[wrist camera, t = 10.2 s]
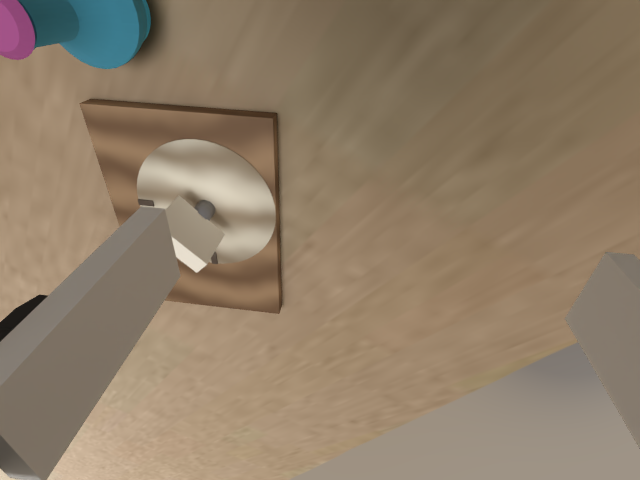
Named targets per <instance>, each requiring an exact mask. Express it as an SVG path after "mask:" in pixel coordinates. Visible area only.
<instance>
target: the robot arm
mask: <svg viewBox="0 0 640 480" xmlns="http://www.w3.org/2000/svg"><path fill="white" fill-rule="evenodd" d="M180 276H181V275H180V271H179V267H178V262H177V258H176V254H175V250H174V246H173V241H172V237H171V233H170V229H169V224H168V220H167V216H166V212H165V209H163V208H153V207H143V206H141V207H140V208H139V209H138V210H137V211H136V212H135V213H134V214H133V215H132V216H131V217H130V218H129V219H128V220H127V221H126V222H125V223H123V224H122V225H121V226H120V227H119V228H118V229H117V230H116V231H115V232H114V233H113V234H112V235H111V236H110V237H109V238H108V239H107V240H106V241H105V242H104V243H103V244H102V245H101V246H100V247H98V248H97V249H96V250H95V251H94V252H93V253H92V254H91V255H90V256H89V257H88V258H87V259H86V260H85V261H84V262H83V263H82V264H81V265H80V266H79V267H78V268H77V269H76V270H75V271H73V272H72V273H71V274H70V275H69V276H68V277H67V278H66V279H65V280H64V281H63V282H62V283H61V284H60V285H59V286H58V287H57V288H56V289H55V290H54V291H53V292H52V293H51V294H50V295H48V296H46V295H38V296H36V297H35V298H33V299H31V300H29V301H28V302H26V303H24V304H23V305H21V306H19V307H17V308H16V309H14V310H13V311H12V312H11V313H10V314H9V315H8V316H7V317H6V318H5V319H3V320H2V321H1V322H0V468H1V469H2V470H3V471H4V472H5V473H6V474H7V475H8V476H9V477H10V478H15V479H22V480H47V478H48V476H49V475H50V473H51V472H52V470H53V469H54V467H55V466H56V464H57V463H58V461H59V460H60V458H61V457H62V455H63V454H64V452H65V451H66V449H67V448H68V446H69V445H70V443H71V442H72V440H73V439H74V437H75V435H76V434H77V432H78V431H79V429H80V428H81V426H82V425H83V423H84V422H85V420H86V419H87V417H88V416H89V414H90V413H91V411H92V410H93V408H94V407H95V405H96V404H97V402H98V401H99V399H100V397H101V396H102V394H103V393H104V391H105V390H106V388H107V387H108V385H109V384H110V382H111V381H112V379H113V378H114V376H115V375H116V373H117V372H118V370H119V369H120V367H121V366H122V364H123V363H124V361H125V360H126V358H127V356H128V355H129V353H130V352H131V350H132V349H133V347H134V346H135V344H136V343H137V341H138V340H139V338H140V337H141V335H142V334H143V332H144V331H145V329H146V328H147V326H148V325H149V323H150V322H151V320H152V319H153V317H154V315H155V314H156V312H157V311H158V309H159V308H160V306H161V305H162V303H163V302H164V300H165V299H166V297H167V296H168V294H169V293H170V291H171V290H172V288H173V287H174V285H175V284H176V282H177V281H178V279H179V277H180ZM565 320H566V322H567V323H568V325H569V327H570V328H571V330H572V332H573V334H574V335H575V337H576V339H577V341H578V342H579V344H580V346H581V348H582V349H583V351H584V353H585V355H586V356H587V358H588V359H589V361H590V363H591V365H592V367H593V368H594V370H595V372H596V373H597V375H598V377H599V379H600V381H601V382H602V384H603V386H604V387H605V389H606V391H607V393H608V394H609V396H610V398H611V399H612V401H613V403H614V405H615V407H616V408H617V410H618V412H619V414H620V415H621V417H622V419H623V421H624V422H625V424H626V426H627V427H628V429H629V431H630V433H631V434H632V436H633V438H634V440H635V441H636V443H637V445H638V446H639V448H640V260H639V259H638V258H637V257H636V256H635V255H633V254H622V253H612V252H606V253H605V254H604V256H603V257H602V259H601V261H600V262H599V264H598V266H597V267H596V269H595V270H594V272H593V274H592V275H591V277H590V279H589V280H588V282H587V283H586V285H585V287H584V288H583V290H582V291H581V293H580V295H579V296H578V298H577V300H576V301H575V303H574V304H573V306H572V308H571V309H570V311H569V313H568V314H567V316H566V317H565Z"/></svg>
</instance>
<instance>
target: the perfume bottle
mask: <svg viewBox="0 0 640 480" xmlns="http://www.w3.org/2000/svg"><path fill="white" fill-rule="evenodd" d="M150 26H151V16H150V10H149V7H148V4H147V1H146V0H0V55H2V56H4V57H6V58H10V59H15V60H20V59H24V58H26V57H28V56H29V55H30V54H31V53H32V51H33V50H34V49H35V48H36V47H41V46H46V45H51V44H57V43H59V44H60V45H62V46H63V47H64V48H65V49H66V50H67V51H68V52H69V53H70V54H72V55H73V56H74V57H76V58H77V59H79V60H80V61H82V62H84V63H86V64H88V65H90V66H93V67H97V68H102V69H111V68H117V67H119V66H121V65H124V64H125V63H127V62H129V61H130V60H131V59H132V58H134V56H135V55H136V53H137V52H138V51H139V49H140V48H141V45H142V43H143V42H144V40H145V39H146V38H147V36H148V34H149V31H150Z"/></svg>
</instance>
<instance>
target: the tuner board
mask: <svg viewBox="0 0 640 480" xmlns="http://www.w3.org/2000/svg"><path fill="white" fill-rule="evenodd" d="M79 104H80V107H81V110H82V113H83V116H84V119H85V122H86V125H87V128H88V131H89V134H90V137H91V140H92V143H93V146H94V149H95V152H96V155H97V158H98V161H99V165H100V168H101V171H102V174H103V177H104V180H105V183H106V186H107V189H108V192H109V195H110V198H111V201H112V204H113V207H114V210H115V213H116V216H117V219H118V222H119V226H121V225H122V224H123V223H125V222H126V221H127V220H128V219H129V218H130V217H131V216H132V215H133V214H134V213H135V212H136V211H137V210H138V209H139V208H140V207H141V206H143V207H153V208H163V209H166V208H167V207H168V206H169V205H170V204H171V203H172V202H173V201H174V200H175V199H176V198H177V197H178V196H180V197H182V198H183V199H184V200H185V201H186V202H188V203H189V204H190V205H191V206H192V207H193V208H194V207H195V206H196V205H197V204H198V202H199V201H201V200H207V201H210V202H211V203H212V204H213V205H214V206H215V209H216V211H215V214H214V215H213V217H212V218H211V219H210V222H211V223H212V224H214V225H215V226H216V227H217V228H218V229H219V230H221V231H222V232H223V233H224V234H225V235H224V237H223V238H222V240H221V242H220V244H219V245H218V247H217V249H216V250H215V252H214V254H213V255H212V257H211V259H210V260H209V262H208V264H207V265H206V266H205V267H203V268H202V269H201V270H200V271H199V272H197V273H196V272H195V271H194V270H192V269H191V268H190V267H188V266H187V265H186V264H185V263H183V262H182V261H181V260H179V259H178V258H177V257H176V258H177V262H178V267H179V271H180V275H181V276H180V277H179V279H178V281H177V282H176V284H175V285H174V287H173V288H172V290H171V291H170V293H169V294H168V296H167V297H166V299H165V300H166V301H174V302H183V303H191V304H200V305H208V306H217V307H225V308H234V309H243V310H251V311H260V312H268V313H277V314H279V313H280V310H281V306H282V289H281V252H280V215H279V177H278V140H277V113H268V112H255V111H242V110H229V109H216V108H203V107H190V106H177V105H164V104H150V103H137V102H124V101H111V100H98V99H89V100H87V101H84V102H82V103H79Z"/></svg>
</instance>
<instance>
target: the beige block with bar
mask: <svg viewBox="0 0 640 480" xmlns="http://www.w3.org/2000/svg"><path fill="white" fill-rule="evenodd" d="M215 211H216V209H215V206H214V205H213V204H212V203H211V202H210V201H207V200H201V201H199V202H198V204H197V205H196V206H195V207H194V208H193V207H192V206H191V205H190V204H189V203H188V202H186V201H185V200H184V199H183V198H182V197H180V196H178V197H177V198H176V199H175V200H174V201H173V202H172V203H171V204H170V205H169V206H168V207H167V208H166V209H165V212H166V216H167V220H168V224H169V229H170V233H171V237H172V241H173V246H174V250H175V254H176V257H177V258H178V259H179V260H181V261H182V262H183V263H185V264H186V265H187V266H188V267H190V268H191V269H192V270H194V271H195V272H196V273H197V272H199V271H200V270H201V269H202V268H203V267H205V266H206V265H207V264H208V262H209V260H210V259H211V257H212V255H213V254H214V252H215V250H216V249H217V247H218V245H219V244H220V242H221V240H222V238H223V237H224V235H225V234H224V233H223V232H222V231H221V230H219V229H218V228H217V227H216V226H215V225H214V224H212V223H211V222H210V219H211V218H212V217H213V215H214V214H215Z"/></svg>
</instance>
